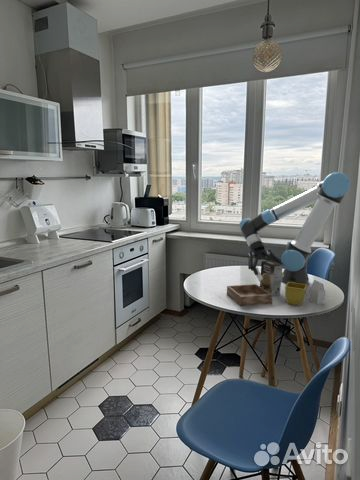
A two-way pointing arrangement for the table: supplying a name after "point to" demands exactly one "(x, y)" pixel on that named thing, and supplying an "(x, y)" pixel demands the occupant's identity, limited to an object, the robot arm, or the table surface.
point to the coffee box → (271, 276)
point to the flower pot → (295, 293)
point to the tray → (249, 295)
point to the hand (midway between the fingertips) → (271, 278)
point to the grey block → (317, 292)
